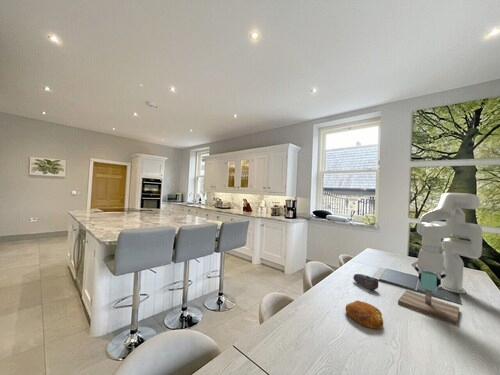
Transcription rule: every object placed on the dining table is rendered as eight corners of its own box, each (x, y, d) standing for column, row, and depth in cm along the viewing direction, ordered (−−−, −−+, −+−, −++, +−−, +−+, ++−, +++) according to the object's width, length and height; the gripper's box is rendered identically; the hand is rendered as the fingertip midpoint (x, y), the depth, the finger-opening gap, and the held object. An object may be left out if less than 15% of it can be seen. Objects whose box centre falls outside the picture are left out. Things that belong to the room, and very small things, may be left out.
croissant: (370, 338, 86) (373, 321, 85) (339, 312, 100) (341, 297, 99) (390, 328, 93) (394, 312, 92) (359, 305, 107) (361, 291, 106)
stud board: (406, 293, 123) (407, 274, 123) (459, 311, 107) (460, 289, 107) (398, 303, 111) (399, 282, 111) (456, 325, 95) (457, 301, 95)
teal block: (422, 284, 113) (423, 269, 113) (437, 288, 109) (438, 272, 109) (420, 287, 109) (421, 271, 109) (435, 292, 105) (436, 275, 105)
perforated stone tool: (350, 281, 135) (351, 271, 135) (356, 280, 138) (356, 270, 138) (373, 292, 122) (374, 280, 122) (379, 291, 124) (379, 279, 124)
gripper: (454, 251, 105) (452, 287, 105) (411, 243, 118) (410, 275, 118) (453, 254, 100) (451, 292, 100) (408, 245, 113) (407, 279, 113)
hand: (429, 283), depth 109 cm, fingers closed on teal block, 6 cm apart
